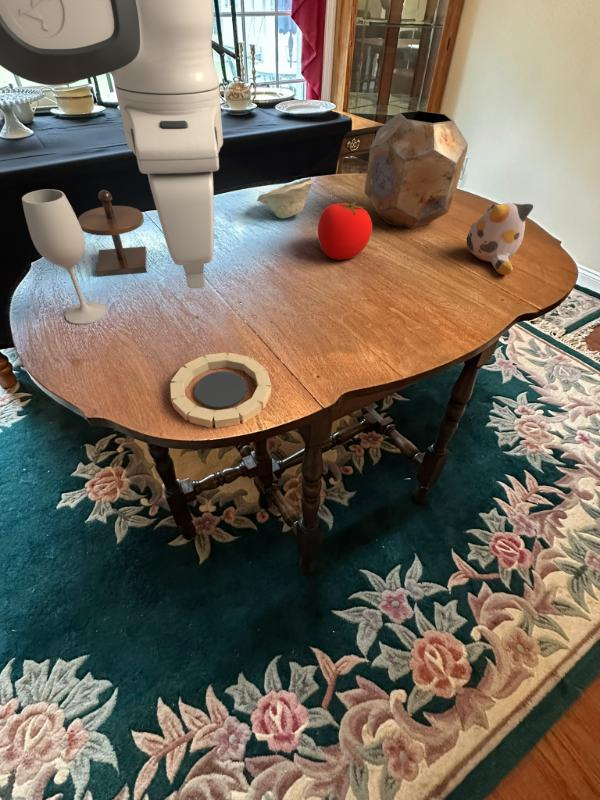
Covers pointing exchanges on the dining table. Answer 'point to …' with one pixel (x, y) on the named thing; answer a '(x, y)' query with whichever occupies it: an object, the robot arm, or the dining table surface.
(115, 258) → the rack
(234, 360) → the hoop
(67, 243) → the wineglass
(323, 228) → the tomato
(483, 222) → the figurine
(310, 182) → the bowl
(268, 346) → the dining table surface
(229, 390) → the coaster
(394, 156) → the planter
